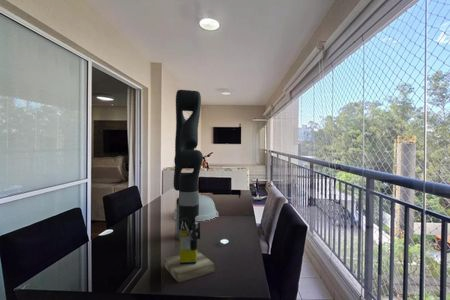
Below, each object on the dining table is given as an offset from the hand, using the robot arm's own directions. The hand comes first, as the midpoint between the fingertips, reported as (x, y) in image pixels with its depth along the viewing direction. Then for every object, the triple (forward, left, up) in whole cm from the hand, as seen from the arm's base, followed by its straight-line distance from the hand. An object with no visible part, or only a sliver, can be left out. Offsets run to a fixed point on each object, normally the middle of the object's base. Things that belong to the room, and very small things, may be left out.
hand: (188, 246), depth 93 cm
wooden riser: (0, 0, -9) cm, 9 cm away
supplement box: (0, 0, -6) cm, 6 cm away
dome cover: (-68, +36, -9) cm, 78 cm away
